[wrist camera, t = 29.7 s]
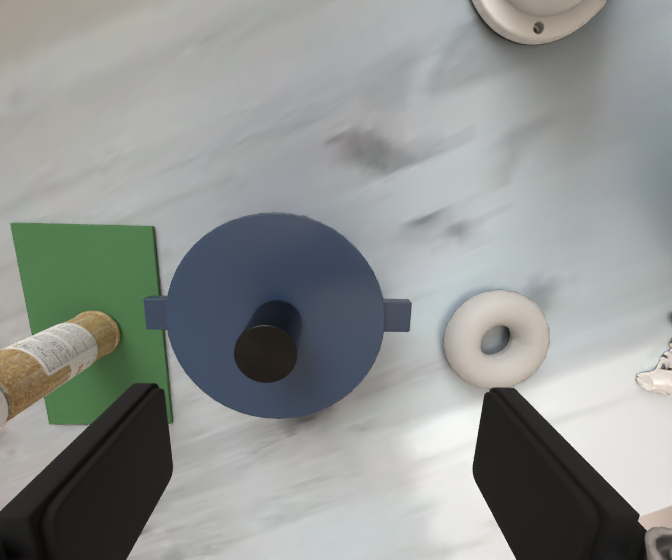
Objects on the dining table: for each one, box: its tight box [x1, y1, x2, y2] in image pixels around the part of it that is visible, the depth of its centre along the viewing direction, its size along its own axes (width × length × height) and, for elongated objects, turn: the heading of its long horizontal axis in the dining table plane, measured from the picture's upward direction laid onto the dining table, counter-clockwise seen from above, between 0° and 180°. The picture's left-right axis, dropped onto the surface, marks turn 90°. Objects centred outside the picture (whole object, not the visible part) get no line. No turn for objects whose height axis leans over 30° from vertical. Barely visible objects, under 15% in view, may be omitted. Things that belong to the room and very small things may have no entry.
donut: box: [444, 290, 550, 389], centre depth 31 cm, size 10×4×10 cm
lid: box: [166, 213, 385, 419], centre depth 21 cm, size 16×16×6 cm
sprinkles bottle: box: [0, 311, 120, 429], centre depth 24 cm, size 5×5×14 cm
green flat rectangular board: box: [10, 223, 173, 424], centre depth 31 cm, size 20×12×1 cm, turn 178°
